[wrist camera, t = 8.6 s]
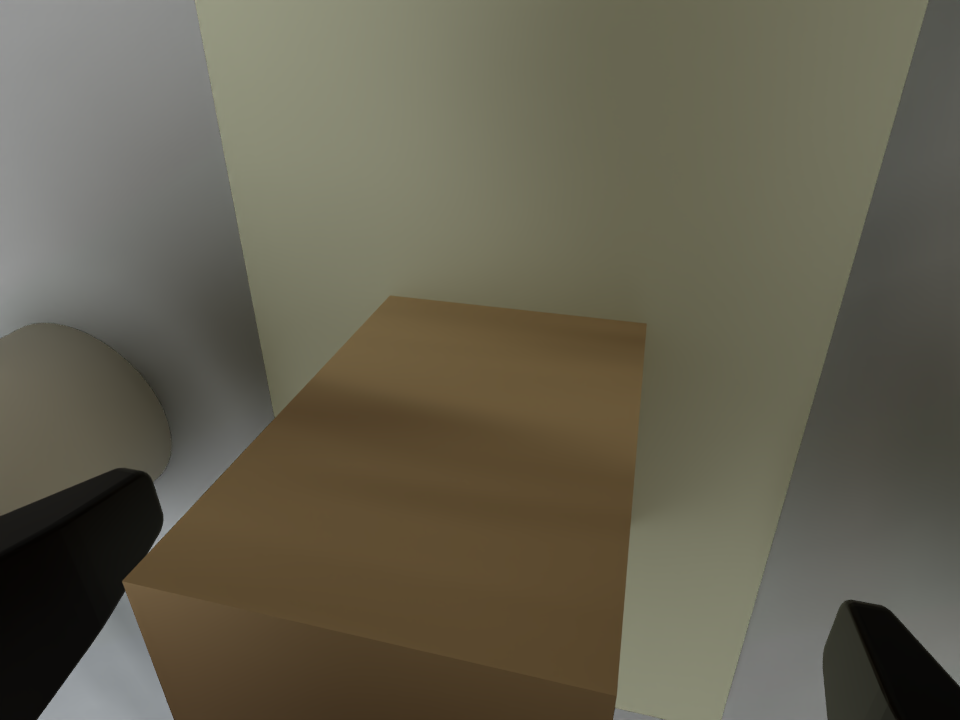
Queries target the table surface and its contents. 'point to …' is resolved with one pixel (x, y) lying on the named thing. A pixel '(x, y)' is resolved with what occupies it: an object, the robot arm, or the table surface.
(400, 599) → the oak block
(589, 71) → the sage board
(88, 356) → the white cylinder
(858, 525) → the table surface
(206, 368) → the table surface
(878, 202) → the table surface
